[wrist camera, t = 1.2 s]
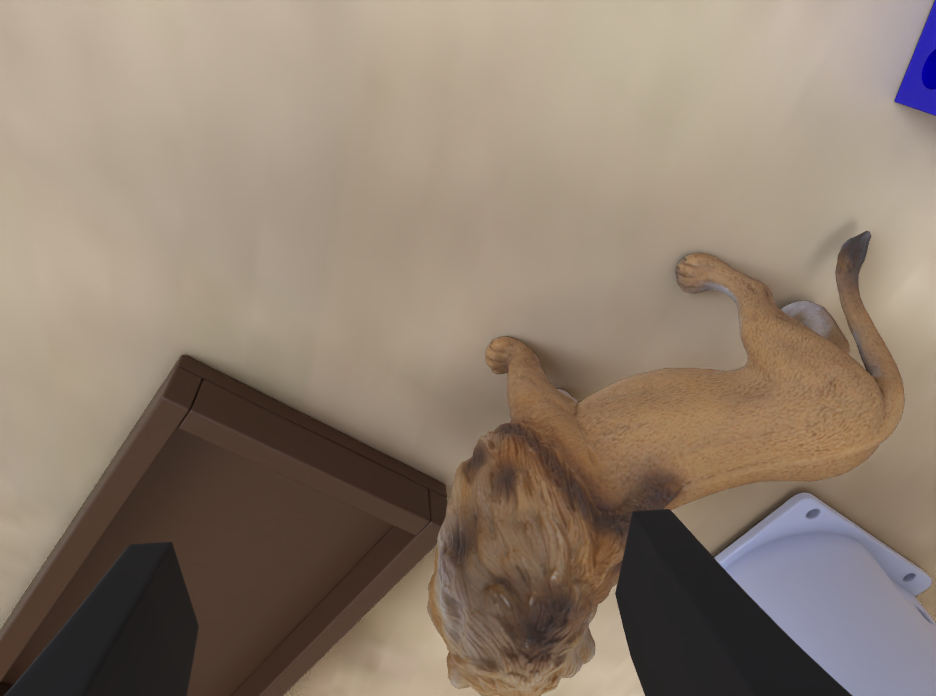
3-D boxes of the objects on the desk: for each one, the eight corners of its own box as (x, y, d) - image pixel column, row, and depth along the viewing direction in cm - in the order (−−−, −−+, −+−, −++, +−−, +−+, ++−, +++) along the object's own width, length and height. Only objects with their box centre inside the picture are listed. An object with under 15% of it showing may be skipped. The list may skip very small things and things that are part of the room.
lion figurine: (465, 494, 23) (503, 766, 16) (379, 393, 21) (375, 663, 13) (873, 290, 20) (1158, 501, 13) (835, 142, 18) (1168, 300, 10)
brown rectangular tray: (446, 484, 23) (451, 531, 21) (207, 732, 29) (195, 783, 28) (182, 353, 19) (161, 396, 17) (-27, 670, 26) (-58, 725, 24)
